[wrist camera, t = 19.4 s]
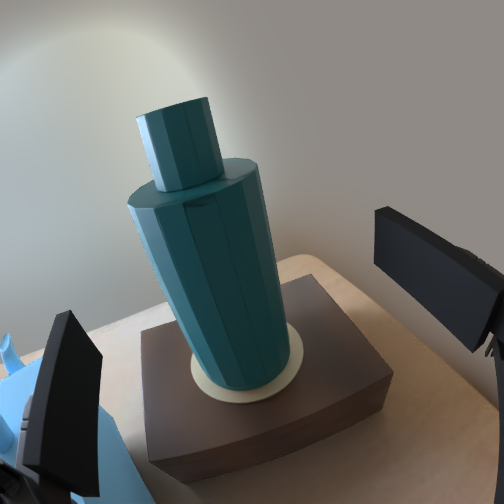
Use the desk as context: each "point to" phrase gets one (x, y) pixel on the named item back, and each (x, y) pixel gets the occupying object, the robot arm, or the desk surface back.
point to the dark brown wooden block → (259, 392)
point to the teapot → (109, 439)
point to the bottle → (211, 247)
